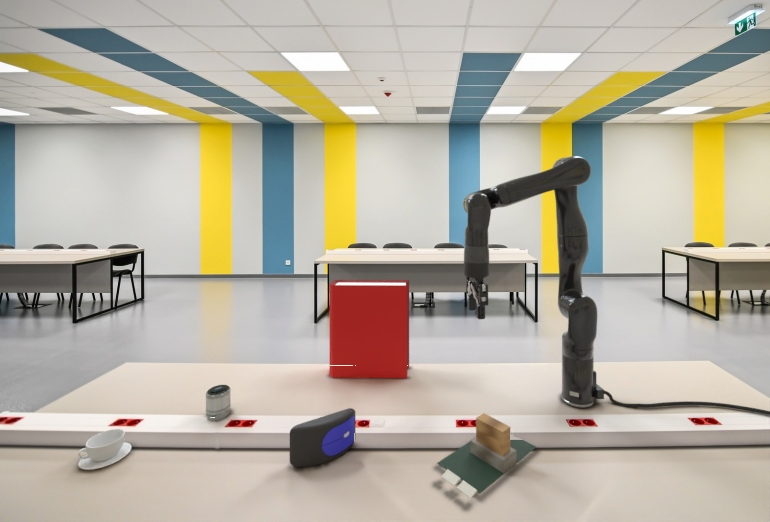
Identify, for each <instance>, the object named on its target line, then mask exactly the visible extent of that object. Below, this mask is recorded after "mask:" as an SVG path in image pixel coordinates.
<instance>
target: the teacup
mask: <svg viewBox="0 0 770 522" xmlns="http://www.w3.org/2000/svg"><path fill="white" fill-rule="evenodd" d="M125 436H126V431H125V430H124V429H122V428H113V429H107V430H105V431H102V432H101V431H100V432H99V433H96V434H94V435H93V436H91V437H89V438H88V440H87V441H86V442H85V447H83V448H81V449H79V450H78V452H77V457H78V458H79V461H78V463H77V465H78V467H79V469H81V470H97V469H100V468H104V467H107V466H110V465H112V464H114V463H117V462H118V461H120V460H122V459H123V458H124V457H126V456H127V455H128V454H129V453H130V452H131V450H132V445H131V443H129V442H125ZM83 452H85V453H86V454H85V455H82V453H83Z"/></svg>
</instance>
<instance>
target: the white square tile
mask: <svg viewBox="0 0 770 522" xmlns="http://www.w3.org/2000/svg"><path fill="white" fill-rule="evenodd" d="M441 477H442V479H445V480H446V481H447V482H449V483H450V484H452V485H453V486H456V485H458V483H459V484H460V483H461V482H462V481H461V478H460V477H458V476H457V475H455V474H454V473H453V472H451V471H450V470H448V469H447V470H446V469H445V472H444V473H443V474H442V475H441Z"/></svg>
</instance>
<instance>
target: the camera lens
mask: <svg viewBox="0 0 770 522" xmlns="http://www.w3.org/2000/svg"><path fill="white" fill-rule="evenodd" d="M231 389H232V388H231V387H230V386H229V385H228V384H218V385H214V386H212V387H210V388H209V389H208V390H207V391H206V392H205V415H206V419H207V420H209V421H213V422H215V421H219V420H222V419H225V418H227V417H228V416H229V414H230V412H231V406H232V405H231V401H232V400H231ZM207 416H208V417H207ZM210 417H215V418H210Z"/></svg>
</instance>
